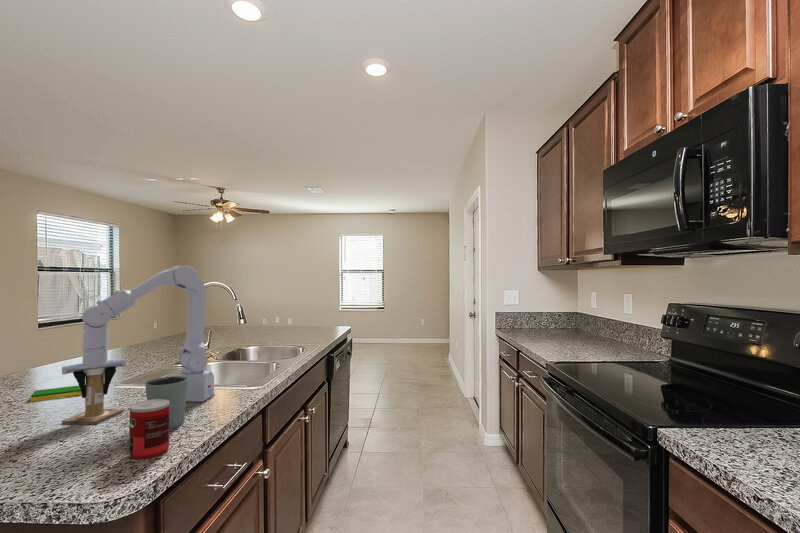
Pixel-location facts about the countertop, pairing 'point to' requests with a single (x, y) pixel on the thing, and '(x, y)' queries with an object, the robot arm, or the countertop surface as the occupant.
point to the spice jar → (94, 391)
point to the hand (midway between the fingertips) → (94, 395)
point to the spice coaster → (94, 419)
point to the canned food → (149, 428)
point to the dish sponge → (55, 393)
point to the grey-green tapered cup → (170, 396)
